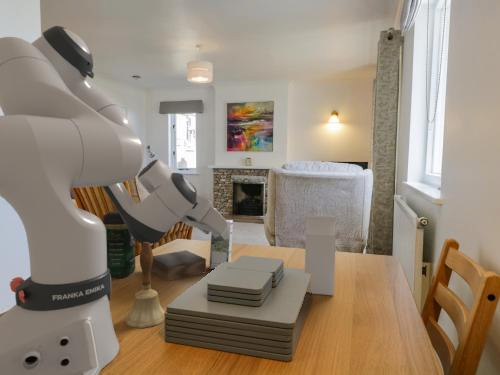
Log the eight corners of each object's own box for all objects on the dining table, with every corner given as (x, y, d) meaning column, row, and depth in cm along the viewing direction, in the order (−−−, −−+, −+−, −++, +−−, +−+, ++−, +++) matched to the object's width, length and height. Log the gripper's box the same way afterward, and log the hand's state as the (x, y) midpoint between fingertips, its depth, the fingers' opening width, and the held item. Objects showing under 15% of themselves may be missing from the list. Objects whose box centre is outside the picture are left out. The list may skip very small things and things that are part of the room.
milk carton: (333, 296, 84) (336, 218, 83) (304, 293, 86) (305, 217, 84) (332, 285, 91) (334, 214, 90) (305, 283, 92) (307, 213, 91)
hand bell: (127, 312, 74) (126, 239, 73) (167, 308, 76) (166, 237, 75) (123, 330, 66) (121, 248, 65) (167, 325, 68) (167, 246, 67)
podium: (167, 280, 94) (167, 266, 93) (150, 269, 103) (149, 256, 103) (205, 272, 101) (205, 258, 101) (186, 262, 110) (186, 250, 110)
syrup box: (231, 266, 107) (233, 219, 107) (228, 270, 101) (230, 220, 101) (212, 265, 107) (215, 218, 108) (208, 269, 101) (211, 219, 102)
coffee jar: (129, 278, 95) (128, 211, 94) (100, 279, 95) (98, 211, 93) (139, 267, 105) (137, 207, 103) (112, 268, 104) (110, 207, 103)
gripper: (163, 210, 104) (193, 237, 111) (198, 219, 88) (230, 250, 95) (176, 194, 106) (204, 221, 113) (212, 200, 90) (243, 231, 97)
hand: (216, 234), depth 104 cm, fingers open, 8 cm apart
